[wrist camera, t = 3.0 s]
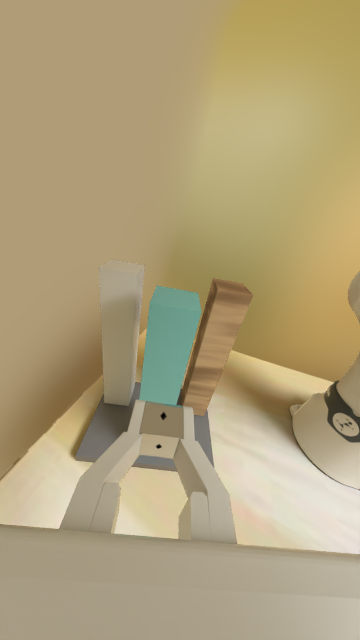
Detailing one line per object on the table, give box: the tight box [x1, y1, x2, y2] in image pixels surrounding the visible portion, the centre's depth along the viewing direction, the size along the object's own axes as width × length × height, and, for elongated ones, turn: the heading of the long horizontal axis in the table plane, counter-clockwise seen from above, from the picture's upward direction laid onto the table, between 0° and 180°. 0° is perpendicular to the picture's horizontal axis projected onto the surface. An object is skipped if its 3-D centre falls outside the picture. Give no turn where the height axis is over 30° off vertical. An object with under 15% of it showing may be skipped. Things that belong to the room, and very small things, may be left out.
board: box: [75, 382, 214, 472], centre depth 37 cm, size 16×23×2 cm
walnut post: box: [181, 278, 253, 416], centre depth 34 cm, size 5×5×28 cm
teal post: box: [139, 286, 201, 405], centre depth 26 cm, size 5×5×28 cm
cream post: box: [99, 259, 145, 406], centre depth 33 cm, size 5×5×28 cm
